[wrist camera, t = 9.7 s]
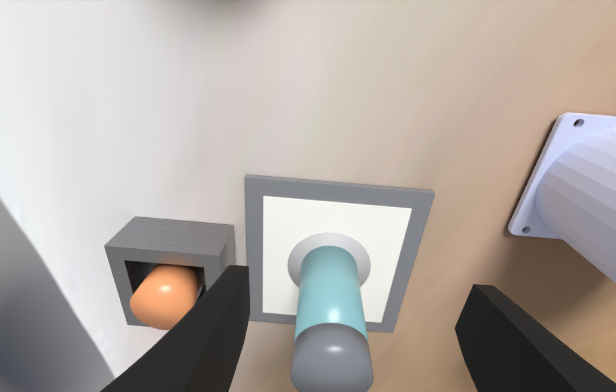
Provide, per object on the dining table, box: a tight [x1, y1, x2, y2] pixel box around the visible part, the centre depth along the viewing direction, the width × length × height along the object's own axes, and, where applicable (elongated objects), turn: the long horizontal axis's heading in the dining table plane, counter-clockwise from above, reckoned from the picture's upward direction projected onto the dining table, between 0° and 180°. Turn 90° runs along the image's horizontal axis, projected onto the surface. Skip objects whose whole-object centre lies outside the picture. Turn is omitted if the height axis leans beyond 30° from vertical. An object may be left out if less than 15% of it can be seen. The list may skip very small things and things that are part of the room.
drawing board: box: [245, 174, 435, 333], centre depth 22 cm, size 12×13×1 cm
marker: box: [291, 246, 373, 392], centre depth 18 cm, size 4×4×8 cm
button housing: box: [104, 217, 236, 327], centre depth 21 cm, size 7×7×3 cm
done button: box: [130, 263, 202, 330], centre depth 20 cm, size 4×4×2 cm
